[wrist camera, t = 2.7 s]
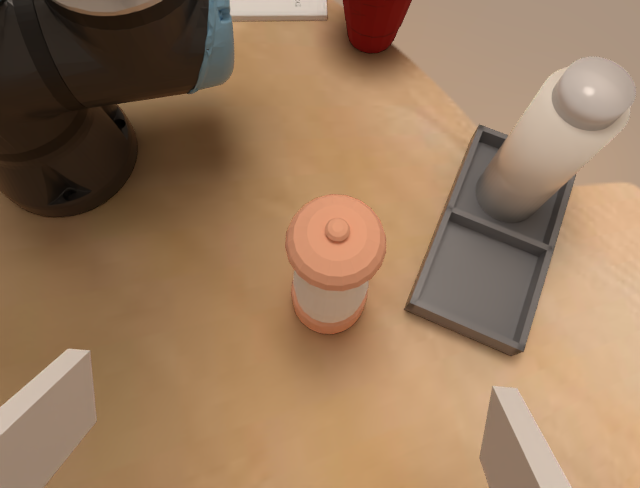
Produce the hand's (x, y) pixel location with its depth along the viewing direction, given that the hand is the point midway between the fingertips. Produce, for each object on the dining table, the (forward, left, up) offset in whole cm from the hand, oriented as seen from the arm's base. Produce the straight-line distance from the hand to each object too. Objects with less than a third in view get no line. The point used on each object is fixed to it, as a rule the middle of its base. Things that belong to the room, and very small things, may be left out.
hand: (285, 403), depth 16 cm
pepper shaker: (-2, +11, -32) cm, 34 cm away
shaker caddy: (+11, +24, -31) cm, 41 cm away
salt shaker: (+11, +30, -30) cm, 44 cm away
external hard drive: (-24, +45, -32) cm, 61 cm away
